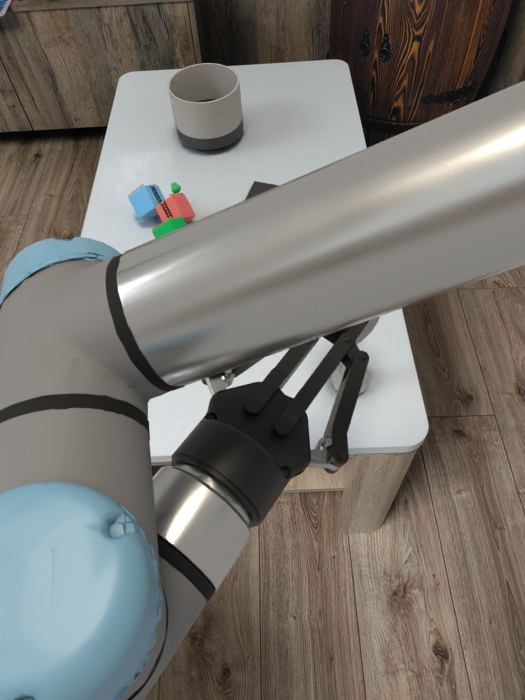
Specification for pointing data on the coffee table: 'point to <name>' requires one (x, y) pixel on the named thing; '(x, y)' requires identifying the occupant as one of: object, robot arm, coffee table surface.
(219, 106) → the planter
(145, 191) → the building blocks
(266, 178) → the coffee table surface
